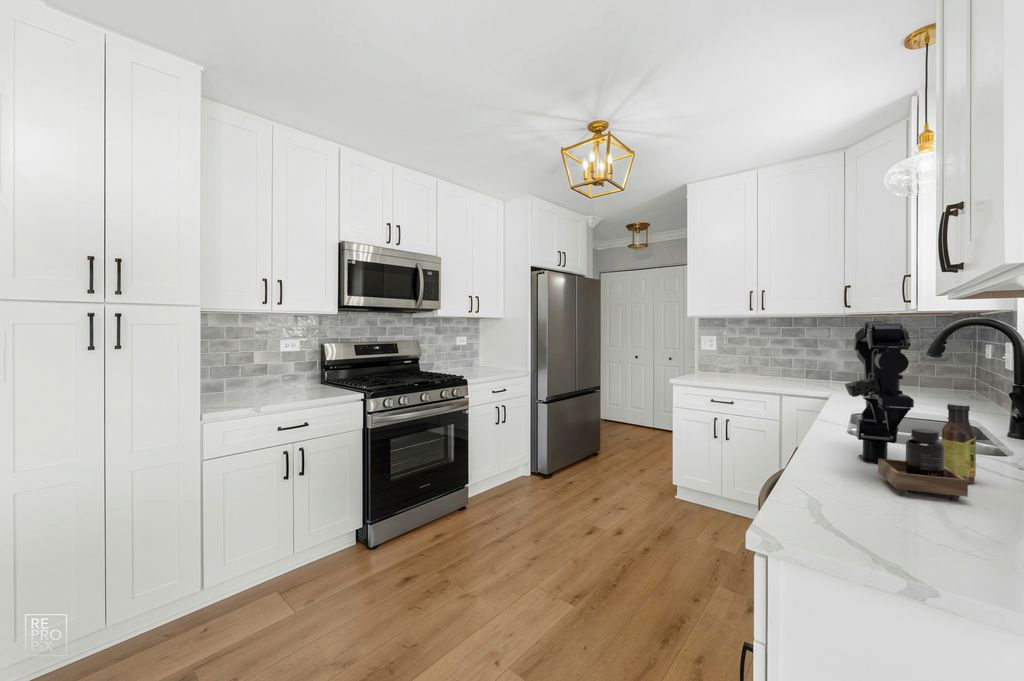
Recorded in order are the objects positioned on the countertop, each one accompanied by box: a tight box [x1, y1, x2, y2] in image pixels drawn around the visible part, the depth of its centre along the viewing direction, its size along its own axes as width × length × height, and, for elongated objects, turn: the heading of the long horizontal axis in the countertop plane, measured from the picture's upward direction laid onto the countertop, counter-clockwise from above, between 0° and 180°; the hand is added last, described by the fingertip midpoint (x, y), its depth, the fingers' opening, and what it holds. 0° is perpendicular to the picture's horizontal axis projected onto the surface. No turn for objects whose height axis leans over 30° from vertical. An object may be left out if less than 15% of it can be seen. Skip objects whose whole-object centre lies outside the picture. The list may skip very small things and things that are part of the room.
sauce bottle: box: [941, 402, 977, 484], centre depth 113 cm, size 7×6×20 cm
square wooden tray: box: [877, 458, 969, 502], centre depth 106 cm, size 13×13×6 cm
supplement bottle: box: [905, 427, 944, 477], centre depth 106 cm, size 7×7×12 cm
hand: (884, 428), depth 117 cm, fingers open, 9 cm apart
